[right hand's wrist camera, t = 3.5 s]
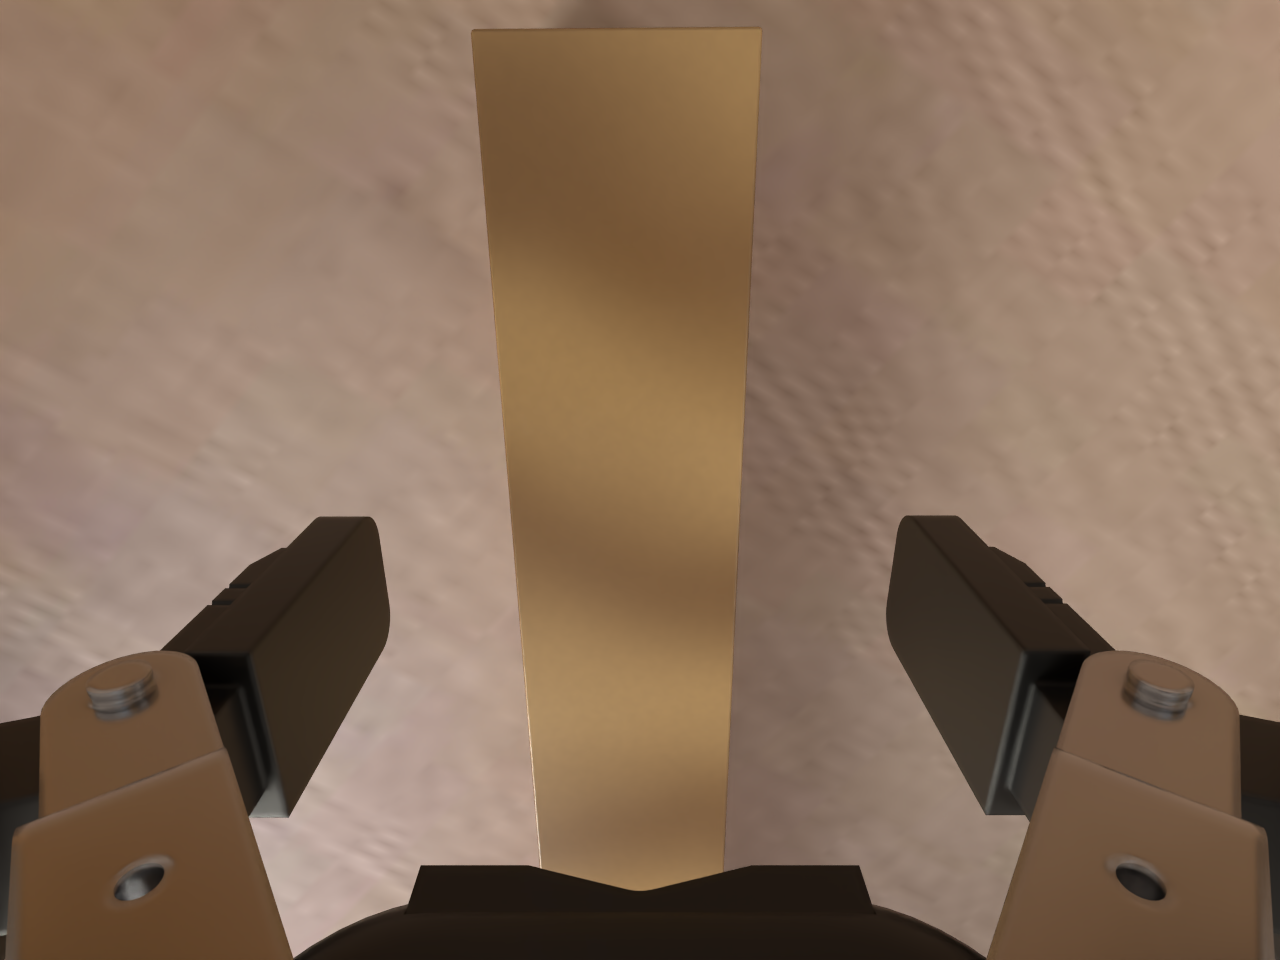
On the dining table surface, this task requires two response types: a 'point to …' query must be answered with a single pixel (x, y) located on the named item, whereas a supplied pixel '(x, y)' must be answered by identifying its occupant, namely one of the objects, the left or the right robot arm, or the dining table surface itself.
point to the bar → (623, 421)
